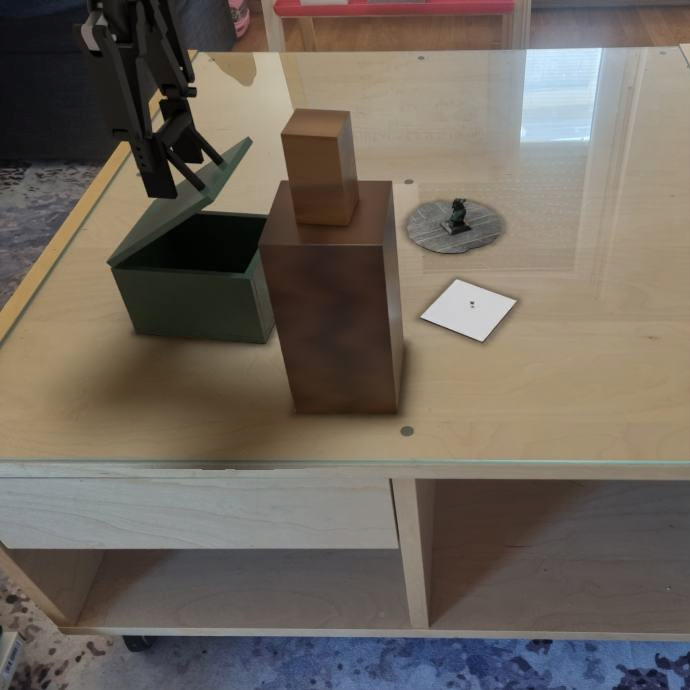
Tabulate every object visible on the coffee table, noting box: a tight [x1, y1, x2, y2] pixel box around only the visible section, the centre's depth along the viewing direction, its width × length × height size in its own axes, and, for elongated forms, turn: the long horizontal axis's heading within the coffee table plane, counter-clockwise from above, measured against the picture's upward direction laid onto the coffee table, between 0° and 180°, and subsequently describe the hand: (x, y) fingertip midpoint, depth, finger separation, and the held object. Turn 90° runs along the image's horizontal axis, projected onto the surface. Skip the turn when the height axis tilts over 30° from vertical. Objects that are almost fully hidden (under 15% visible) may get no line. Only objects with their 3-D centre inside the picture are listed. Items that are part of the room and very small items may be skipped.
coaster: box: [420, 278, 517, 343], centre depth 84 cm, size 8×8×1 cm
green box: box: [110, 209, 275, 344], centre depth 82 cm, size 15×12×9 cm
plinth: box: [258, 179, 405, 415], centre depth 70 cm, size 10×10×20 cm
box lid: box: [105, 109, 254, 268], centre depth 75 cm, size 15×12×7 cm
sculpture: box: [406, 197, 502, 254], centre depth 97 cm, size 12×9×8 cm
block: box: [280, 107, 359, 226], centre depth 60 cm, size 4×4×8 cm
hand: (177, 178), depth 74 cm, fingers closed on box lid, 6 cm apart
